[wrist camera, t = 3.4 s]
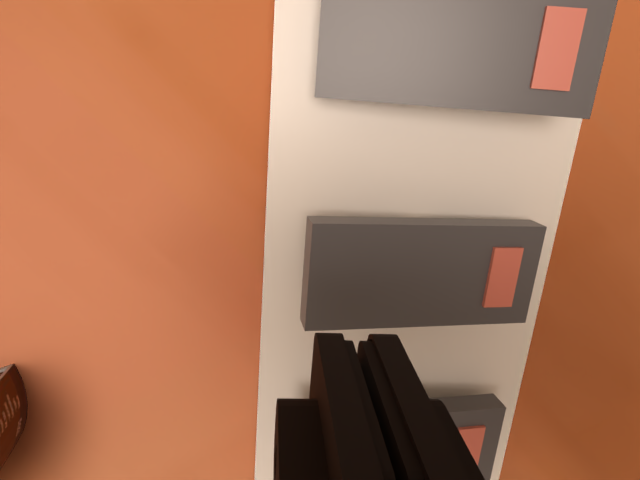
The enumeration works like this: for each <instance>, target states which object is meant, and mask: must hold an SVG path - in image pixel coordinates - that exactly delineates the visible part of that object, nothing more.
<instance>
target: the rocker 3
mask: <svg viewBox="0 0 640 480" xmlns="http://www.w3.org/2000/svg"><path fill="white" fill-rule="evenodd" d="M429 399H439V400H441V401H442V402H443V403H444V405H445V406H446V408H447V410H448V412H449V413H450V415H451V417H452V419H453V421H454V423H455V425H456V427H457V428H458V430H459V432H460V434H461V436H462V438H463V440H464V441H465V443H466V445H467V447H468V449H469V451H470V453H471V455H472V456H473V458H474V460H475V462H476V464H477V466H478V468H479V469H480V471H481V473H482V475H483V477H484V479H485V480H490V478H491V473H492V469H493V465H494V460H495V456H496V451H497V447H498V442H499V438H500V433H501V429H502V424H503V420H504V416H505V411H506V407H505V406H504V404H503V403H502V402H501V401H500V400H499V399H498V398H497V397H496V396H495V395H494V394H493V393H491V394H478V395H465V396H452V397H438V398H429Z"/></svg>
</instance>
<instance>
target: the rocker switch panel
mask: <svg viewBox="0 0 640 480" xmlns="http://www.w3.org/2000/svg"><path fill="white" fill-rule="evenodd" d="M320 10H321V0H275V10H274V34H273V57H272V81H271V104H270V128H269V151H268V175H267V198H266V222H265V245H264V269H263V292H262V316H261V339H260V362H259V386H258V409H257V433H256V456H255V480H273V470H274V436H275V417H276V403H277V398H293V399H309V393H310V380H311V368H312V356H313V344H314V336H315V333H342V334H343V336H344V340H352V341H353V343H354V346H355V349H356V352H357V350H358V344H359V341H367V339H368V336H369V334H397V335H398V337H399V339H400V341H401V343H402V345H403V347H404V349H405V351H406V353H407V355H408V357H409V359H410V361H411V363H412V365H413V367H414V369H415V371H416V373H417V375H418V377H419V379H420V381H421V383H422V385H423V387H424V389H425V391H426V393H427V395H428V397H429V398H438V397H452V396H465V395H478V394H491V393H493V394H494V395H495V396H496V397H497V398H498V399H499V400H500V401H501V402H502V403H503V404H504V406H505V407H506V411H505V416H504V420H503V424H502V429H501V433H500V438H499V442H498V447H497V451H496V456H495V460H494V465H493V469H492V473H491V478H490V480H499V477H500V472H501V468H502V464H503V459H504V455H505V451H506V446H507V442H508V438H509V433H510V429H511V425H512V420H513V416H514V412H515V407H516V403H517V399H518V394H519V390H520V386H521V381H522V377H523V373H524V368H525V364H526V360H527V356H528V351H529V347H530V343H531V338H532V334H533V330H534V325H535V321H536V317H537V312H538V308H539V304H540V299H541V295H542V291H543V286H544V282H545V278H546V273H547V269H548V265H549V260H550V256H551V252H552V247H553V243H554V239H555V234H556V230H557V226H558V221H559V217H560V213H561V208H562V204H563V200H564V196H565V191H566V187H567V183H568V178H569V174H570V170H571V165H572V161H573V157H574V152H575V148H576V144H577V139H578V135H579V131H580V126H581V122H582V118H569V117H557V116H544V115H532V114H519V113H506V112H494V111H481V110H468V109H456V108H443V107H430V106H418V105H405V104H393V103H380V102H367V101H355V100H342V99H329V98H317V97H315V83H316V68H317V54H318V39H319V24H320ZM307 216H350V217H406V218H463V219H520V220H532V221H535V222H537V223H539V224H542V225H544V226H546V227H547V229H546V233H545V237H544V242H543V246H542V251H541V255H540V260H539V264H538V269H537V273H536V278H535V282H534V286H533V291H532V295H531V300H530V304H529V309H528V313H527V318H526V322H525V323H506V324H480V325H454V326H428V327H402V328H376V329H350V330H324V331H304V328H303V326H302V323H301V320H300V308H301V294H302V279H303V265H304V250H305V236H306V221H307Z"/></svg>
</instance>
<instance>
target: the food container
mask: <svg viewBox="0 0 640 480" xmlns="http://www.w3.org/2000/svg"><path fill="white" fill-rule="evenodd" d="M27 405H28V404H27V397H26V391H25V387H24V384H23V381H22V378H21V376H20V374H19V372H18V370H17V368H16V366H15V365H14V364H11V365H8V366H5V367H2V368H0V469H1V468H2V466H3V464H4V463H5V461H6V459H7V458H8V456H9V454H10V453H11V451H12V449H13V448H14V446H15V445H16V443H17V441H18V439H19V437H20V435H21V433H22V431H23V429H24V426H25V422H26V418H27Z"/></svg>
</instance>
